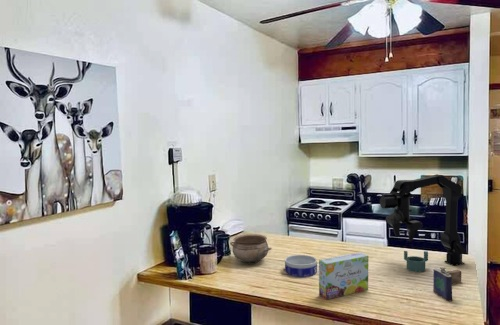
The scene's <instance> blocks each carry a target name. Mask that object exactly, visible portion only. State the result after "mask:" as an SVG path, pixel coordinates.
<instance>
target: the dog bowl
mask: <svg viewBox="0 0 500 325" xmlns="http://www.w3.org/2000/svg"><path fill="white" fill-rule="evenodd" d="M284 270H285V274H287V275H289V276H290V277H295V278H309V277H313V276H315V275H316V274H318V260H317V258H316V257H315V256H312V255H308V254H293V255H289V256H286V257H285V259H284Z"/></svg>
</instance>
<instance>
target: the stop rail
mask: <svg viewBox="0 0 500 325" xmlns="http://www.w3.org/2000/svg"><path fill="white" fill-rule="evenodd" d="M446 271H447V273H449V274H450V275H451V276H452V285H455V284H462V271H461V270H460V269H454V270H449V271H448V270H446Z"/></svg>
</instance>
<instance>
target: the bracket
mask: <svg viewBox="0 0 500 325" xmlns="http://www.w3.org/2000/svg"><path fill="white" fill-rule="evenodd" d="M403 260H404V261H406V270H408V271H409V272H412V273H424V272H426V262H428V261H429V252H428V250H427V251H426V250H425V251H423V257H421V256H416V255H415V256H414V255H413V256H412V255H411V256H408V251H407V250H404V251H403Z"/></svg>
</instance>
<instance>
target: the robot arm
mask: <svg viewBox="0 0 500 325" xmlns="http://www.w3.org/2000/svg"><path fill="white" fill-rule="evenodd" d="M434 185H437V186H438V187H440V188H441V190H442V196H443V197H444V199H445V227H444V231H443V232H440V234H439V235H440V238H439V241H441V242H440V243H441V245H442V246H443V247H444V248H443V249H445V250H446V260H444V263H446V264H449V265H452V266H454V267H456V266H462V265H465V264H466V263H465V262H464V261H463V254H465V253H466V251H467V249H466V247H464V246H463V244H461V242H462V241H461V237H460V234H459V232H458V201H459V200H460V198H461V197H462V191H463V187H462V185H461V184H460V183H457V182H454V181H452V180H450V179H449V178H447V177H446V176H444V175H443V174H434V175H431V176H430V175H429V176H425V177H420V178H416V179H398V180H397V181H395V183H394V186H393V187H392V189H391V191H390V192H389V193H382V194H381V197H380V199H379V204H380V208H381V209H382V210H385V209H394V210H393V211H394V212H392V213H390V214H389V215H386V217H385V222H387V224H388V225H390V227H392V230H393V231H392V232H393V234H394V235H395V238H398V237H399V235H400V230H401V224H403V225H405V227H406V228H405V230H407V232H408V242H409V243H412V242H413V240H414V238H415V236H416V234H417V233H418V231H419V230H421V229H423V222H421V221H419V220H416V219H415V220H412V219H413V218H412V217H410V216H411V214H410V213H411V212H413V209H411V208H410V205H411V204H410V199H411V198H414V197H415V196H414V195H413V194H412V192H414V191H415V190H417V189H421V188H424V187H429V186H434Z"/></svg>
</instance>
